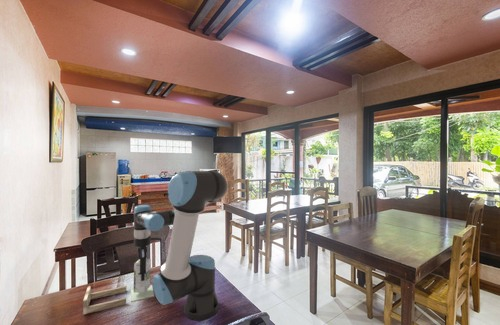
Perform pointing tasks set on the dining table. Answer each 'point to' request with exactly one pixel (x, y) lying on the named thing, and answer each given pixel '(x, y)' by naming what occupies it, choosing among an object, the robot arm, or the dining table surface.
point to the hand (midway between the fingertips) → (142, 282)
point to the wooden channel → (103, 293)
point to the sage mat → (142, 294)
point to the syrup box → (137, 277)
